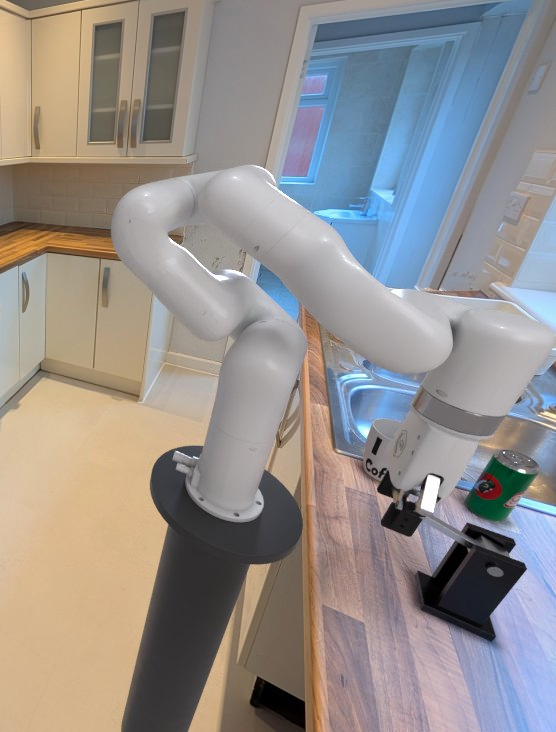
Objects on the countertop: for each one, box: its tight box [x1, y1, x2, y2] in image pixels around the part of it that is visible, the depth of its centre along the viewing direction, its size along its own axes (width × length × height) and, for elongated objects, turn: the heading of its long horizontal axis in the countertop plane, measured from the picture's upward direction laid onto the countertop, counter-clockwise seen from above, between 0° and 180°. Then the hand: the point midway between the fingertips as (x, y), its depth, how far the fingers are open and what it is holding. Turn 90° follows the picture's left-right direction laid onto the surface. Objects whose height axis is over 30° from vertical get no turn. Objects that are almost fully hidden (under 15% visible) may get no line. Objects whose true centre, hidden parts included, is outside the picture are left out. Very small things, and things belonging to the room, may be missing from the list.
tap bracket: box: [414, 522, 528, 643], centre depth 56 cm, size 7×6×13 cm
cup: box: [362, 417, 402, 482], centre depth 79 cm, size 8×8×10 cm
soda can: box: [464, 448, 540, 522], centre depth 71 cm, size 5×5×12 cm
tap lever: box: [391, 485, 511, 558], centre depth 56 cm, size 12×6×2 cm, turn 55°
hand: (392, 511), depth 59 cm, fingers closed on tap lever, 6 cm apart
